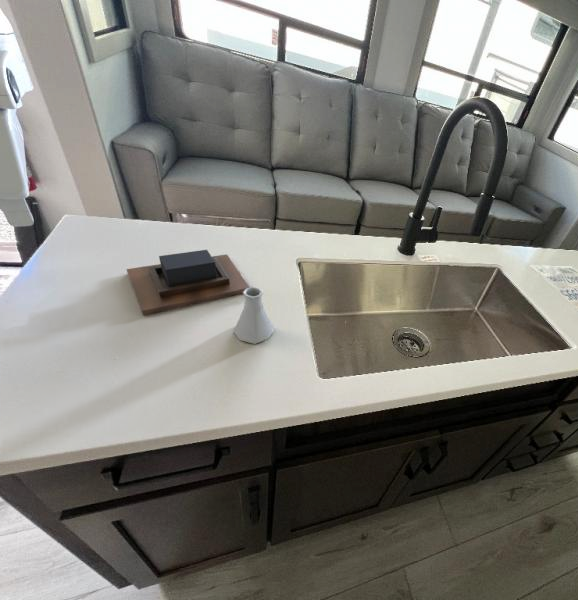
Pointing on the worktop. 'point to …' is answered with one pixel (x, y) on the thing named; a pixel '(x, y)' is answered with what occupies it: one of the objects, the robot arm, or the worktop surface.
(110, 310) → the worktop surface
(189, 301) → the back plate
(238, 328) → the flask
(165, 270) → the dark gray block
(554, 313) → the worktop surface
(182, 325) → the worktop surface
